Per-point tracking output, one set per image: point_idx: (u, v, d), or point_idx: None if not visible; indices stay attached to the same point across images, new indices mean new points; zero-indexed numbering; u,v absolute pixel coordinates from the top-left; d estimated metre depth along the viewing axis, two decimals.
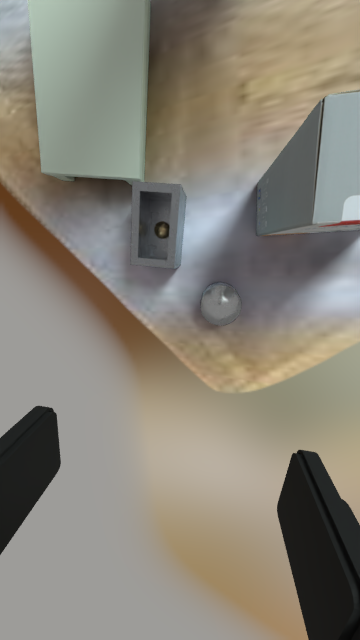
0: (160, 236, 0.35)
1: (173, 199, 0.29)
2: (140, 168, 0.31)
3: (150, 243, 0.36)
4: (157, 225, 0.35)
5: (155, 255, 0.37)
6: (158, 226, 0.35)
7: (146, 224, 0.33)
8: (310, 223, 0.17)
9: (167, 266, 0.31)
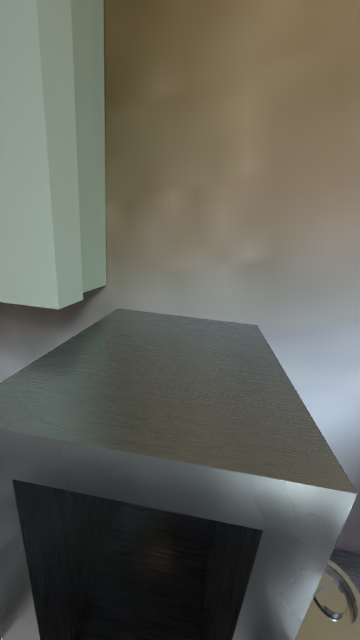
0: None
1: (271, 563, 0.04)
2: (64, 258, 0.06)
3: None
4: None
5: None
6: None
7: None
8: None
9: None
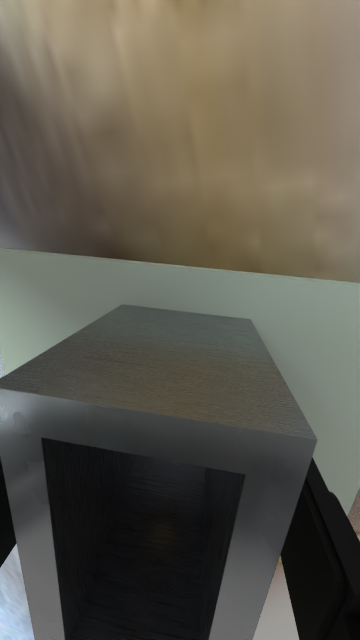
0: None
1: (253, 503, 0.04)
2: None
3: None
4: None
5: (149, 470, 0.13)
6: None
7: None
8: None
9: None
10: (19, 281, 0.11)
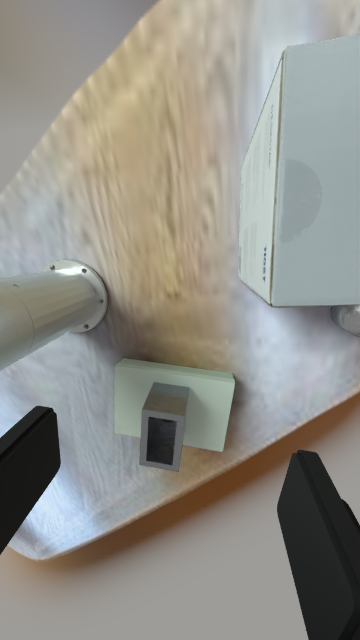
0: (165, 421, 0.39)
1: (178, 425, 0.32)
2: (226, 380, 0.37)
3: (156, 422, 0.40)
4: None
5: (161, 430, 0.40)
6: None
7: (153, 419, 0.37)
8: None
9: (172, 469, 0.35)
10: (123, 374, 0.39)
